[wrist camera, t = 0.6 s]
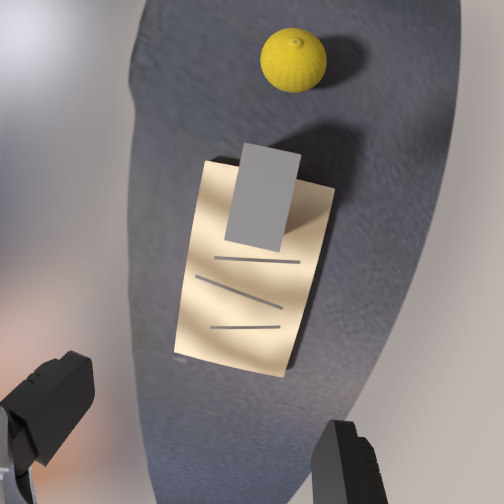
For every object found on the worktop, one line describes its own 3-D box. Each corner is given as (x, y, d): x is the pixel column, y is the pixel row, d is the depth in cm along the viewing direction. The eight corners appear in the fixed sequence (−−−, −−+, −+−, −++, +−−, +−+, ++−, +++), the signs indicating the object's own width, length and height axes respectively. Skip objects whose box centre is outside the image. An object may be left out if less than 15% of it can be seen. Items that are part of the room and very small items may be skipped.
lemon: (281, 43, 25) (282, 2, 18) (330, 70, 26) (346, 36, 18) (251, 84, 27) (243, 51, 19) (301, 113, 27) (310, 87, 19)
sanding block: (251, 152, 27) (244, 142, 21) (295, 162, 27) (301, 154, 20) (235, 228, 28) (223, 240, 22) (278, 237, 28) (279, 252, 22)
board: (208, 161, 29) (205, 160, 27) (332, 188, 28) (335, 188, 27) (177, 346, 33) (174, 352, 32) (283, 371, 33) (283, 377, 31)
